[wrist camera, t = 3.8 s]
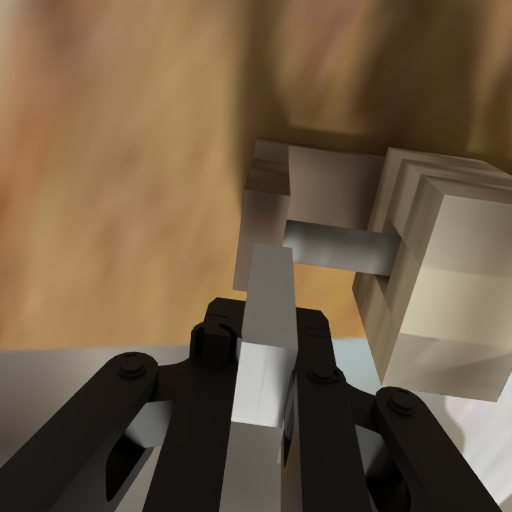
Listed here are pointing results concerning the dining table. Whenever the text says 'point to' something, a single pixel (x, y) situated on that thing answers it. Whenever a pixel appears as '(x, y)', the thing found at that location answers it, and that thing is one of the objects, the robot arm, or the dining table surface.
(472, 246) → the sleeve
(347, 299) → the dining table surface
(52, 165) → the dining table surface
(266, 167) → the pipe stand
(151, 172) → the dining table surface
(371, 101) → the dining table surface
